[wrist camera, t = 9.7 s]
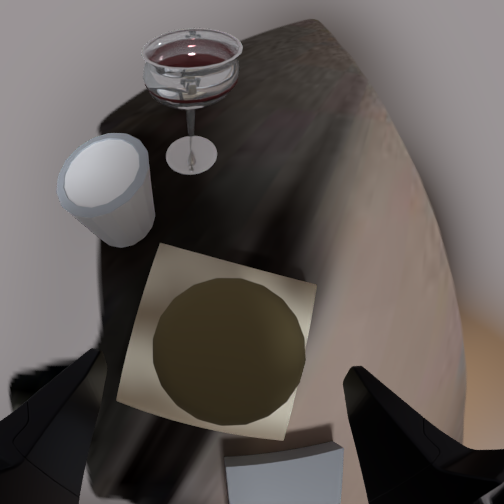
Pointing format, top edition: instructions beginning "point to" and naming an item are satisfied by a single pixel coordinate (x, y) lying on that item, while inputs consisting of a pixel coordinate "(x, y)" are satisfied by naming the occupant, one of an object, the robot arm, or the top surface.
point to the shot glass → (109, 188)
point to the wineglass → (191, 85)
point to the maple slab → (155, 303)
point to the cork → (228, 351)
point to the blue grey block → (287, 476)
